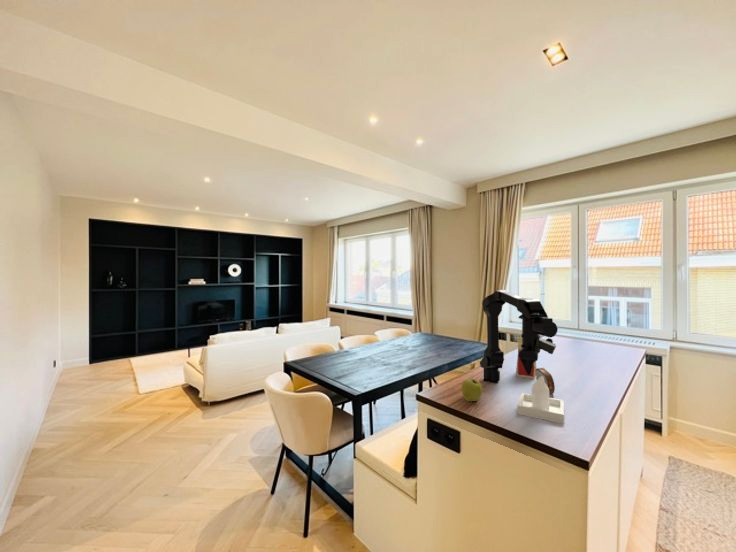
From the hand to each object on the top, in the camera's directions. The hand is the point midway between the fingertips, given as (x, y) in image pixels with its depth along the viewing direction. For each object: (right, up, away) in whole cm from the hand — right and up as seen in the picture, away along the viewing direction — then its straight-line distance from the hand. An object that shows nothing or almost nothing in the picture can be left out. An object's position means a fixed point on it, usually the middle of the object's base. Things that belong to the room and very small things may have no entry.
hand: (530, 371), depth 118 cm
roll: (0, -12, -7) cm, 13 cm away
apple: (-22, -13, +3) cm, 25 cm away
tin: (+14, -13, +14) cm, 23 cm away
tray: (0, -12, -7) cm, 14 cm away
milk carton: (+16, -13, +34) cm, 39 cm away
